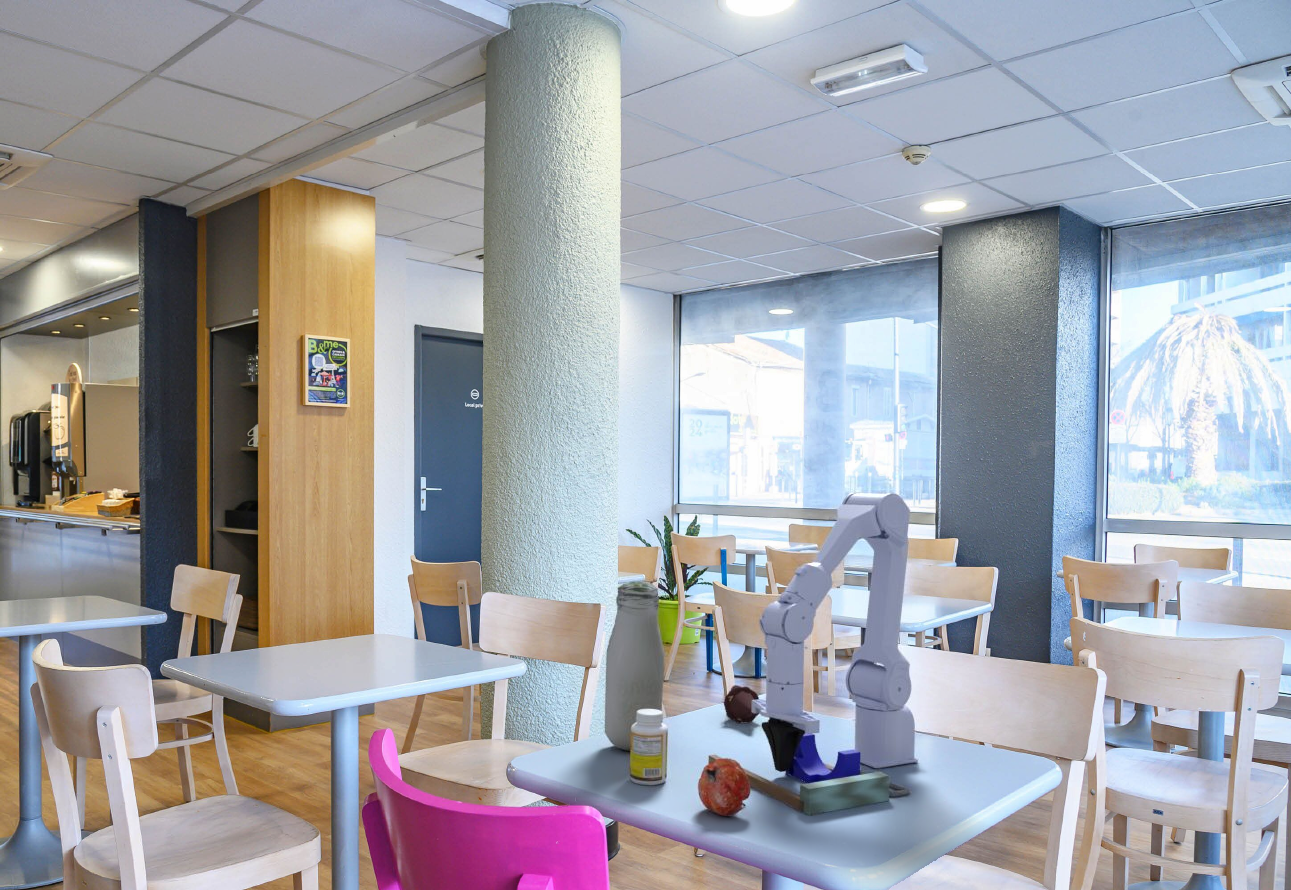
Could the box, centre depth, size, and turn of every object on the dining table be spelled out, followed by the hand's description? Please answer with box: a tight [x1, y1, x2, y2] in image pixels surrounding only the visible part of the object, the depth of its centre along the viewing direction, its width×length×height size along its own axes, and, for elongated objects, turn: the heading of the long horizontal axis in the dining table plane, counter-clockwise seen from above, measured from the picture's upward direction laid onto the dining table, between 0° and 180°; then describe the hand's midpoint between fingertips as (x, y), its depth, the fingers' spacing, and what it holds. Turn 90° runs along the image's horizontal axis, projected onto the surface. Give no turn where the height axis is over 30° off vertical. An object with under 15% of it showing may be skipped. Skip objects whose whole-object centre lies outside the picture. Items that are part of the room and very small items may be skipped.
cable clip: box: [784, 733, 861, 784], centre depth 139 cm, size 12×4×6 cm, turn 29°
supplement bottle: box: [629, 709, 669, 786], centre depth 138 cm, size 6×6×10 cm
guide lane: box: [707, 754, 890, 816], centre depth 139 cm, size 15×25×4 cm, turn 29°
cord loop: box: [860, 769, 911, 798], centre depth 139 cm, size 4×13×1 cm, turn 29°
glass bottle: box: [604, 580, 666, 751], centre depth 155 cm, size 10×10×28 cm
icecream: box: [723, 684, 760, 724], centre depth 175 cm, size 7×7×15 cm
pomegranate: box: [697, 757, 751, 817], centre depth 125 cm, size 7×7×10 cm
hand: (783, 769), depth 141 cm, fingers closed
